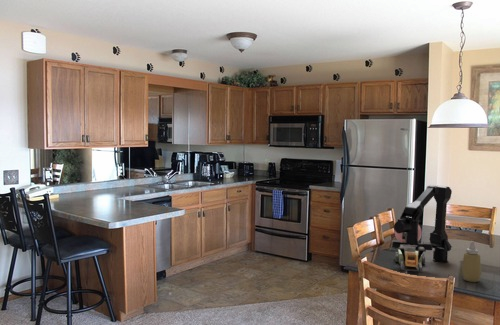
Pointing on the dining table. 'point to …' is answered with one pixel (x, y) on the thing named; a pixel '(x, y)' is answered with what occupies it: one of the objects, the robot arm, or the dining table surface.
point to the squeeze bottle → (471, 264)
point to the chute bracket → (409, 268)
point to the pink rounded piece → (399, 235)
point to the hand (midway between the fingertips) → (411, 261)
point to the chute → (411, 262)
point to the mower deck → (410, 257)
